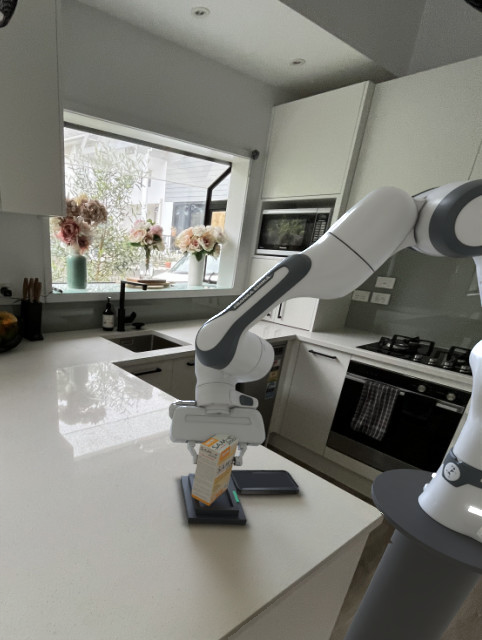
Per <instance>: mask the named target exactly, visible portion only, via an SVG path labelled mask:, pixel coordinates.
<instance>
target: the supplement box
mask: <svg viewBox="0 0 482 640" xmlns="http://www.w3.org/2000/svg"><path fill="white" fill-rule="evenodd" d="M238 440H239V439H237V438H235V437H233V436H230V435H228V434H217V435H216V434H215V435H214V436H212V437H211V438H209V439H208V440H206V441H205V442H203V443H202V444H199V449H198V454H197V455H198V460H197V464H196V467H195V472H194V474H195V477H194V483H193V488H192V494H191V496H192V497H193V498H195V499H197V500H199V501H200V502H202V503H204V504H206V505H208V506H210V505H211V504H212V503H213V502H214V501H215V500H216V499H217V498H218V497H219V496H220V495H221V494H222V493H223V492H224V491H226V490H227V488H228V483H229V479H230V475H231V470H233V466H234V465H233V463H234V457H235V456H236V453H237V450H238V446H237V444H238Z"/></svg>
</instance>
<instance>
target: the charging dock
mask: <svg viewBox="0 0 482 640" xmlns="http://www.w3.org/2000/svg"><path fill="white" fill-rule="evenodd" d="M194 477H195V473H192V472H189V473H188V474H187V475H181V476H180V485H181V492H182V497H183V502H184V503H183V504H184V509H185V515H186V521H187V524H196V525H197V524H198V525H199V524H201V525H231V526H232V525H233V526H246V525H247V521H248V519H247V516H246V514H245V511H244V509H243V506H242V503H241V501H240V498H239V495H238V492H237V491H236V489H235V487H234V484H233V481H232V479H231V478H230V479H229V483H228V488H227V490H226V491H224V492H223V493H222V494H221V495H220V496H219V497H218V498H217V499H216V500H215V501H214V502H213V503H212V504H211V505H210V506H208V505H206V504H204V503H202V502H200V501H199V500H197V499H195V498H193V497H192V496H191V494H192V488H193V483H194Z"/></svg>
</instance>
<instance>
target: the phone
mask: <svg viewBox="0 0 482 640" xmlns="http://www.w3.org/2000/svg"><path fill="white" fill-rule="evenodd" d="M230 478H231V479H232V481H233V484H234V487H235V489H236V492H237V494H240V495H297V494H299V492H300V486H299V485H298V482H297V481H296V480H295V479H294V477H293V476H292V475H291V474H290V472H289V471H287V470H285V469H232V470H231V475H230Z"/></svg>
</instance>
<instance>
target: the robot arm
mask: <svg viewBox="0 0 482 640" xmlns="http://www.w3.org/2000/svg"><path fill="white" fill-rule="evenodd" d="M404 249H408V250H411V251H414V252H419V253H422V254H424V255H427V256H431V257H448V258H451V259H452V258H453V259H467V258H472V259H473V262H474V264H475V269H476V270H475V271H476V278H477V285H478V292H479V298H480V304H481V306H482V178H478V179H468V180H467V179H465V180H457V181H452V182H449V183H446V184H443V185H441V186H436V187H435V186H434V187H431V188H428V189H426V190H422V191H421V192H418V193H416V194H413V195H410V193H408V192H407V191H406V190H404V189H401V188H400V187H396V186H390V185H388V186H387V185H385V186H380V187H378V188H376V189H373V190H372V191H370V192H369V193H368V194H366V195H365V196H364V197H363V198H361V199H360V200H359V201H357V203H355V204H354V205H353V206H351V207H350V208H349V209H348V210H347V211H346V212H345V213H344V214H343V215H342V216H341V217H340V218H339V219H337V221H336V222H334V223H333V225H332V226H330V227H329V229H328V230H326V232H325V233H324V234H323V235H322V236H321V237H320V238H319V239H318V240H317V241H315V242H314V243H313V244H311V245H310V246H309V247H307V248H306V249H305V250H303V251H301V252H299V253H294V254H291V255H288V256H287V257H285V258H283V259H281V261H279V262H278V263H276V264H275V265H274V266H273V267H272V268H270V269H269V270H268V271H267V272H265V273H264V275H262V276H261V277H260V278H259V279H258V280H256V281H255V282H254V283H253V284H252V285H251V286H250V287H249V288H247V290H245V291H244V292H243V293H242V294H241V295H240V296H239V297H237V298H236V299H235V300H234V301H233V302H231V304H230V305H228V306H227V307H226V308H225V309H224V310H222V311H220V312H219V313H218V314H216V315H214V316H213V317H211V318H210V319H208V320H207V321H206V322H205V323H203V324H202V326H200V328H199V329H198V331H197V333H196V336H195V339H194V349H195V350H194V351H195V356H194V357H195V358H194V375H195V378H196V383H195V388H194V390H195V400H179V399H178V400H175V401H173V402H172V403H170V404H169V406H168V417H169V419H170V420H171V421H170V426H169V439H170V441H171V442H172V443H174V444H175V443H178V444H187V445H186V447H187V450H188V452H189V453H190V456H192V465H197V460H198V454H197V451H196V449H195V447H196V444H199V445H200V444H202V443H203V442H205V441H206V440H208V439H209V438H211V437H212V436H214V435H215V434H216V435H217V434H228V435H230V436H233V437H235V438H237V439H239V440H238V444H237V451H239V452H238V454H237V455H235V457H234V461H233V466H234V467H241V466H243V464H244V463H243V457H244V455H245V454H246V452H247V450H248V447H259V446H261V445H262V444H263V443H264V442H265V440H266V430H265V424H264V419H263V416H262V414H261V412H260V411H259V410H258V409H257V408H258V407H259V400H258V399H257V398H256V397H253V396H251V395H247V394H245V393H242V392H240V391H238V390H236V385H237V384H238V383H240V384H245V383H251V382H256V381H260V380H262V379H263V378H265V377H266V376H267V375H268V374H269V373H270V372H271V370H272V368H273V367H274V363H275V360H276V359H275V357H276V354H275V353H276V352H275V349H274V347H273V345H272V344H271V343H270V342H268V340H266V339H264V338H263V337H261V336H259V335H257V334H256V333H254V332H252V331H251V329H252V328H253V327H254V326H255V325H257V324H258V323H259V322H261V321H262V319H264V318H265V317H266V316H268V315H269V314H270V313H271V312H272V311H273V310H274V309H276V308H277V307H278V306H279V305H281V304H283V303H285V302H287V301H289V300H293V299H299V298H309V299H318V300H337V299H340V298H344V297H346V296H347V295H349V294H350V293H352V292H353V291H355V290H357V289H358V288H359V287H360V286H362V285H363V284H364V283H365V282H366V281H367V280H368V279H369V278H370V277H371V276H372V275H373V274H374V273H375V272H377V270H378V269H379V268H381V266H382V265H384V264H385V262H386V261H387V260H389V258H391V257H392V256H394V255H395V254H396V253H398V252H400V251H402V250H404ZM468 360H469V361H468V362H469V366H470V370H471V373H472V387H471V388H472V389H471V398H470V404H469V410H468V414H467V418H466V419H465V423H464V424H463V427H462V429H461V432H460V434H459V436H458V437H457V440H456V442H455V443H454V446H452V447H450V449H449V450H448V452H447V453H446V454H445V458H444V460H443V462H442V464H441V465H440V467H439V468H438V469H437V471H436V472H432V473H433V475H432V477H433V478H432V480H431V481H430V483H429V484H425V486H424V488H423V490H424V492H423V493H422V494H421V495H420V496H419V498H418V502H419V504H420V506H421V508H422V509H423V510H424V511H425V512H426V513H427V514H428V515H429V516H430V517H432V518H433V519H434V520H436V521H437V522H439V523H440V524H442V525H444V526H446V527H448V528H450V529H452V530H454V531H456V532H459V533H461V534H464V535H467V536H469V537H472V538H474V539H475V540H477V541H479V542H481V543H482V339H481V340H480V341H479V342H477V343H476V344H475V345H474V346H473V348H472V349H471V351H470V354H469V359H468Z"/></svg>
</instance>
